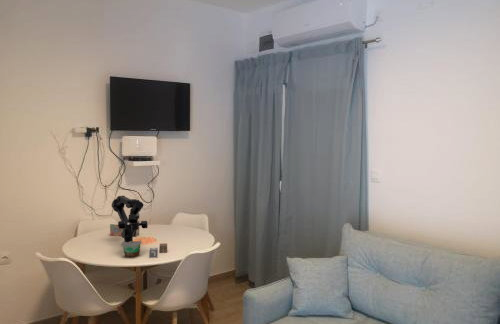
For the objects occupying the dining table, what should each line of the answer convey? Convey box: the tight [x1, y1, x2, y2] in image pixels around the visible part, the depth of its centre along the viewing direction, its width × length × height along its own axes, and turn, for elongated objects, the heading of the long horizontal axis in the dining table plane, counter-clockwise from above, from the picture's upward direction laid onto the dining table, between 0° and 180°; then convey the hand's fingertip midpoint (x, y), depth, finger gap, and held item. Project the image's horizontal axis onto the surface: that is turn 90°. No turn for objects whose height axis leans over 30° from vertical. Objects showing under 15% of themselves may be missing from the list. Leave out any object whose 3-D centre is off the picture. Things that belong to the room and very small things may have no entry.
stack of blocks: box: [109, 219, 140, 238], centre depth 290 cm, size 21×6×12 cm, turn 84°
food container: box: [121, 239, 142, 258], centre depth 241 cm, size 12×6×10 cm, turn 103°
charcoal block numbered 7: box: [148, 247, 159, 258], centre depth 243 cm, size 5×5×5 cm
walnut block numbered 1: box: [158, 242, 168, 254], centre depth 253 cm, size 5×5×5 cm
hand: (131, 235), depth 244 cm, fingers closed
